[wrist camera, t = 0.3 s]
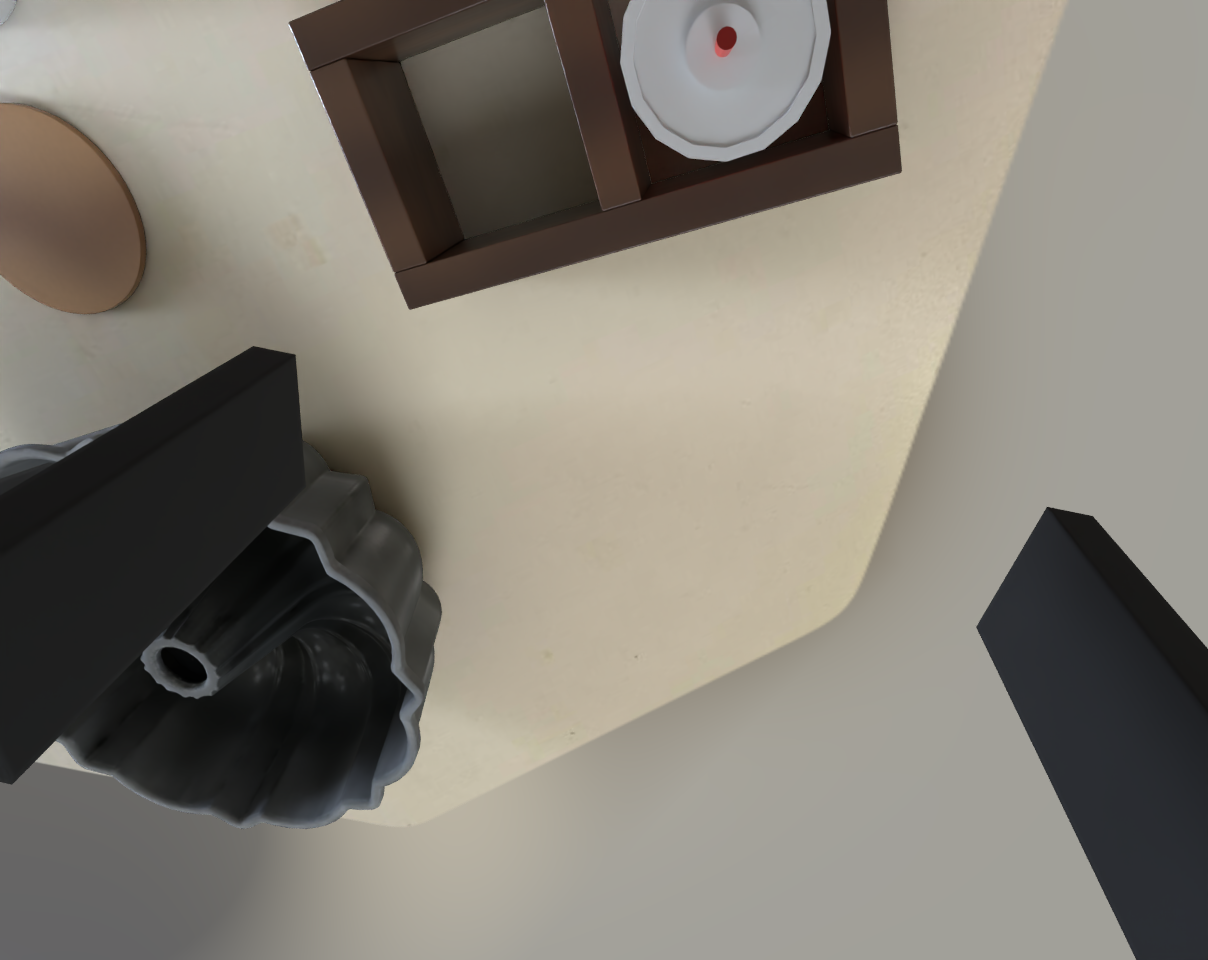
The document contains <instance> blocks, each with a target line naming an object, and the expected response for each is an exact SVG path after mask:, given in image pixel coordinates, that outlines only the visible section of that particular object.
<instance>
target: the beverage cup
mask: <svg viewBox="0 0 1208 960" xmlns="http://www.w3.org/2000/svg"><path fill="white" fill-rule="evenodd" d="M830 36H831V29H830V22H829V15H828V8H827V2H826V0H630V2H629V5H628V7H627V9H626V12H625V14H624V18H623V32H622V45H621V59H620V65H621V68H622V72H623V76H624V80H625V83H626V87H627V91H628V94H629V98H630V102H631V105H632V107H633V109H634V110H635V111H636V113H637V114H638V115H639V117H640V118H641V120H642V121H643V122H644V124H645V125H646V126H647V128H648V129H649V130H650V132H651V133H652V135H653V136H654V137H655V139H657V140H658V141H660V142H662V143H664V144H665V145H667V146H669V147H670V148H672V149H674V150H676V151H677V152H679V153H681V154H682V155H684V156H686V157H688V158H692V159H703V160H713V161H724V162H727V161H730V160H733V159H736V158H739V157H742V156H745V155H748V154H751V153H754V152H757V151H760V150H763V149H765V148H766V147H768V146H769V145H770V144H771V143H772V142H773V141H775V140H776V139H777V138H778V137H779V136H781V135H782V134H783V133H784V132H785V131H787V130H788V129H789V128H790V127H791V126H792V125H794V124H795V123H796V122H797V121H798V120H799V118H800V116H801V115H802V113H803V111H804V110H805V108H806V106H807V104H808V103H809V101H810V99H811V98H812V96H813V94H814V92H815V91H816V89H817V87H818V86H819V84H820V82H821V80H822V75H823V70H824V65H825V60H826V55H827V50H828V45H829V40H830Z"/></svg>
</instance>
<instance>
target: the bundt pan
mask: <svg viewBox="0 0 1208 960" xmlns="http://www.w3.org/2000/svg"><path fill="white" fill-rule="evenodd" d="M119 425H120V424H118V425H115V426H111V427H108V428H105V429H102V430H99V431H96V432H93V433H90V434H86V435H83V436H80V437H77V438H74V439H71V440H67V441H64V442H61V443H58V444H55V445H40V444H26V445H19V446H15V447H12V448H8V449H6V450H4V451H1V452H0V479H1V478H4V477H7V476H10V475H13V474H16V473H19V472H22V471H25V470H28V469H31V468H34V467H37V466H40V465H43V464H46V463H49V462H50V463H56V462H58V461H59V460H61V459H63V458H64V457H66V456H68V455H70V454H71V453H73V452H75V451H76V450H78V449H80V448H81V447H83V446H85V445H87V444H88V443H90V442H92V441H93V440H95V439H97V438H98V437H100V436H102V435H103V434H105V433H107V432H109V431H110V430H112V429H114V428H115V427H117V426H119ZM302 443H303V456H304V468H305V481H306V487H305V488H304V489H303V490H302V491H301V492H300V493H299V494H298V495H297V496H296V497H295V499H294V500H293V501H292V502H291V503H290V504H289V505H288V506H287V507H286V508H285V509H284V510H283V511H282V512H281V513H280V514H279V515H278V516H277V517H276V518H275V519H274V520H273V521H272V522H271V523H270V524H269V525H268V526H267V527H266V528H265V529H264V530H263V531H262V532H261V533H260V534H259V535H258V536H257V537H256V538H255V539H254V540H253V541H252V542H251V543H250V544H249V545H248V546H247V547H246V548H245V549H244V550H243V551H242V552H241V553H240V554H239V555H238V556H237V557H236V558H235V559H234V560H233V561H232V562H231V563H230V564H229V565H228V566H227V567H226V568H225V569H224V570H223V571H222V572H221V573H220V574H219V575H218V576H217V578H216V579H215V580H214V581H213V582H212V583H211V584H210V585H209V586H208V587H207V588H206V589H205V590H204V591H203V592H202V593H201V594H200V595H199V596H198V597H197V598H196V599H195V600H194V601H193V602H192V603H191V604H190V605H189V606H188V607H187V608H186V609H185V610H184V611H183V612H182V613H181V614H180V615H179V616H178V617H177V618H176V619H175V620H174V621H173V622H172V623H171V624H170V625H169V626H168V627H167V628H166V629H165V630H164V631H163V632H162V633H161V634H160V635H159V636H158V637H157V638H156V639H155V640H154V641H153V642H152V643H151V644H150V645H149V646H148V647H147V648H146V649H145V650H144V651H143V652H142V653H141V654H140V656H139V657H138V658H137V659H136V660H135V661H134V662H133V663H132V664H131V665H130V666H129V667H128V668H127V669H126V670H125V671H124V672H123V673H122V674H121V675H120V676H119V677H118V678H117V679H116V680H115V681H114V682H113V683H112V684H111V685H110V686H109V687H108V688H107V689H106V690H105V691H104V692H103V693H102V694H101V695H100V696H99V697H98V698H97V699H96V700H95V701H94V702H93V703H92V704H91V705H90V706H89V707H88V708H87V709H86V710H85V711H84V712H83V713H82V714H81V715H80V716H79V717H78V718H77V719H76V720H75V721H74V722H73V723H72V724H71V725H70V726H69V727H68V728H67V729H66V730H65V731H64V732H63V734H62V735H61V736H60V737H59V738H58V739H57V740H56V741H57V742H59V743H61V744H62V745H63V746H64V747H65V748H66V750H67V751H68V753H69V754H70V755H71V757H72V758H73V759H74V761H75V762H76V763H77V764H79V765H80V766H81V767H83V768H85V769H88V770H91V771H95V772H99V773H103V774H107V775H110V776H113V777H114V778H115V779H116V780H117V781H119V782H120V783H121V784H123V785H124V786H125V787H127V788H128V789H130V790H131V791H133V792H135V793H136V794H138V795H139V796H141V797H143V798H145V799H148V800H150V801H152V802H154V803H156V804H158V805H161V806H164V807H167V808H170V809H173V810H176V811H181V812H186V813H192V814H211V815H213V816H215V817H217V818H219V819H221V820H223V821H225V822H227V823H228V824H230V825H232V826H234V827H238V828H241V829H244V828H250V827H252V826H255V825H257V824H259V823H262V822H264V823H268V824H272V825H276V826H281V827H286V828H302V829H308V828H316V827H320V826H324V825H328V824H330V823H332V822H335V821H336V820H338V819H339V818H340V817H342V816H343V815H344V814H345V812H346V811H347V810H349V809H357V810H372V809H375V808H377V807H379V805H380V803H381V801H382V798H383V796H384V786H387V785H390V784H392V783H394V782H396V781H398V780H400V779H401V778H402V777H403V776H404V775H405V774H406V773H407V772H408V771H409V770H410V769H411V767H412V765H413V764H414V761H415V759H416V756H417V754H418V751H419V748H420V741H421V737H420V729H419V721H420V717H421V714H422V710H423V706H424V702H425V699H426V695H427V691H428V687H429V683H430V679H431V676H432V672H433V667H434V642H435V639H436V635H437V632H438V628H439V624H440V621H441V615H442V609H441V603H440V600H439V597H438V595H437V594H436V592H435V591H434V589H433V588H432V587H431V586H430V585H429V584H427V583H426V582H425V581H423V580H422V579H423V568H422V560H421V555H420V551H419V548H418V546H417V543H416V542H415V540H414V538H413V536H412V535H411V533H410V532H409V531H408V530H407V529H406V528H405V526H404V525H403V524H401V523H400V522H399V521H398V520H397V519H395V518H393V517H392V516H390V515H388V514H386V513H384V512H381V511H378V510H375V506H374V502H373V498H372V494H371V490H370V486H369V482H368V479H367V478H366V477H365V476H363V475H355V474H348V473H341V472H333V471H330V470H329V468H328V465H327V463H326V462H325V461H324V459H323V458H322V456H321V455H320V454H319V453H318V452H317V451H316V450H315V449H314V448H313V447H312V446H310V445H309V444H308V443H306V442H305V441H303V440H302Z"/></svg>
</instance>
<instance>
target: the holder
mask: <svg viewBox="0 0 1208 960" xmlns="http://www.w3.org/2000/svg"><path fill="white" fill-rule="evenodd" d="M826 2H827V8H828V15H829V22H830V29H831V36H830V40H829V45H828V50H827V55H826V60H825V65H824V70H823V75H822V82H823V90H824V98H825V106H826V113H827V121H828V129H829V130H828V131H825V132H821V133H818V134H815V135H811V136H808V137H805V138H801V139H798V140H795V141H792V142H788V143H785V144H782V145H778V146H775V147H772V148H768V149H765V150H762V151H758V152H755V153H752V154H748V155H745V156H742V157H739V158H736V159H733V160H730V161H727V162H722V163H718V164H715V165H712V166H708V167H705V168H702V169H698V170H695V171H692V172H689V173H685V174H682V175H679V176H675V177H672V178H669V179H665V180H662V181H659V182H655V183H652V184H651V178H650V174H649V170H648V166H647V162H646V157H645V153H644V149H643V145H642V141H641V137H640V133H639V128H638V124H637V120H636V116H635V112H634V109H633V107H632V105H631V102H630V98H629V94H628V91H627V87H626V83H625V80H624V76H623V72H622V68H621V65H620V59H621V54H620V50H619V45H618V41H617V37H616V33H615V29H614V25H613V21H612V16H611V12H610V8H609V4H608V0H340V1H338V2H336V3H333V4H331V5H328V6H326V7H324V8H321V9H319V10H317V11H314V12H312V13H309V14H307V15H305V16H302V17H300V18H297V19H295V20H293V21H290V22H289V26H290V29H291V31H292V33H293V36H294V38H295V40H296V43H297V45H298V48H299V50H300V52H301V55H302V57H303V59H304V62H305V64H306V67H307V69H308V70H309V71H311V72H310V75H311V78H312V80H313V83H314V85H315V87H316V90H317V92H318V94H319V97H320V99H321V101H322V104H323V106H324V109H325V111H326V113H327V116H328V118H329V120H330V123H331V125H332V127H333V130H334V132H335V135H336V137H337V139H338V142H339V144H340V146H341V149H342V151H343V154H344V156H345V158H346V161H347V163H348V165H349V168H350V170H351V172H352V175H353V177H354V180H355V182H356V184H357V187H358V189H359V191H360V194H361V196H362V198H363V201H364V203H365V206H366V208H367V210H368V213H369V215H370V217H371V220H372V222H373V225H374V227H375V229H376V232H377V234H378V236H379V239H380V241H381V243H382V246H383V248H384V251H385V253H386V255H387V258H388V260H389V262H390V265H391V267H392V269H393V271H394V272H396V273H395V274H394V275H395V277H396V280H397V282H398V284H399V287H400V289H401V292H402V294H403V296H404V299H405V301H406V303H407V306H408V308H409V309H410V310H411V309H415V308H418V307H422V306H425V305H429V304H433V303H436V302H440V301H443V300H447V299H450V298H454V297H458V296H461V295H465V294H468V293H472V292H476V291H479V290H483V289H486V288H490V287H493V286H497V285H501V284H504V283H508V282H511V281H515V280H519V279H522V278H526V277H529V276H533V275H536V274H540V273H544V272H547V271H551V270H554V269H558V268H562V267H565V266H569V265H572V264H576V263H579V262H583V261H587V260H590V259H594V258H597V257H601V256H604V255H608V254H612V253H615V252H619V251H622V250H626V249H630V248H633V247H637V246H640V245H644V244H647V243H651V242H655V241H658V240H662V239H665V238H669V237H673V236H676V235H680V234H683V233H687V232H690V231H694V230H698V229H701V228H705V227H708V226H712V225H716V224H719V223H723V222H726V221H730V220H733V219H737V218H741V217H744V216H748V215H751V214H755V213H759V212H762V211H766V210H769V209H773V208H776V207H780V206H784V205H787V204H791V203H794V202H798V201H802V200H805V199H809V198H812V197H816V196H819V195H823V194H827V193H830V192H834V191H837V190H841V189H845V188H848V187H852V186H855V185H859V184H862V183H866V182H870V181H873V180H877V179H880V178H884V177H887V176H891V175H895V174H898V173H901V171H902V167H901V155H900V144H899V132H898V125H896V124H897V122H898V121H897V110H896V98H895V87H894V75H893V64H892V52H891V41H890V29H889V18H888V6H887V0H826ZM542 6H546V10H547V13H548V17H549V21H550V24H551V28H552V31H553V35H554V39H555V42H556V46H557V49H558V53H559V57H560V60H561V64H562V68H563V71H564V75H565V78H566V82H567V86H568V89H569V93H570V97H571V100H572V104H573V107H574V111H575V115H576V118H577V122H578V126H579V129H580V133H581V136H582V140H583V144H584V147H585V151H586V154H587V158H588V162H589V165H590V169H591V173H592V176H593V180H594V183H595V187H596V191H597V194H598V198H599V200H596V201H592V202H589V203H586V204H582V205H579V206H576V207H572V208H569V209H566V210H562V211H559V212H556V213H552V214H549V215H546V216H542V217H539V218H536V219H532V220H529V221H526V222H522V223H519V224H516V225H512V226H509V227H506V228H503V229H499V230H496V231H493V232H489V233H486V234H483V235H479V236H476V237H473V238H469V239H466V240H464V236H463V234H462V231H461V228H460V226H459V223H458V220H457V217H456V215H455V212H454V209H453V207H452V204H451V201H450V198H449V196H448V193H447V190H446V188H445V185H444V182H443V179H442V177H441V174H440V171H439V169H438V166H437V163H436V160H435V158H434V155H433V152H432V150H431V147H430V144H429V141H428V139H427V136H426V133H425V131H424V128H423V125H422V123H421V120H420V117H419V114H418V112H417V109H416V106H415V104H414V101H413V98H412V95H411V93H410V90H409V87H408V85H407V82H406V79H405V76H404V74H403V71H402V68H401V66H400V63H399V61H401V60H404V59H407V58H409V57H412V56H414V55H417V54H420V53H422V52H425V51H427V50H430V49H433V48H435V47H438V46H441V45H443V44H446V43H448V42H451V41H454V40H456V39H459V38H461V37H464V36H467V35H469V34H472V33H475V32H477V31H480V30H482V29H485V28H488V27H490V26H493V25H495V24H498V23H501V22H503V21H506V20H508V19H511V18H514V17H516V16H519V15H522V14H524V13H527V12H529V11H532V10H535V9H537V8H540V7H542Z"/></svg>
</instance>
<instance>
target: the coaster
mask: <svg viewBox="0 0 1208 960" xmlns="http://www.w3.org/2000/svg"><path fill="white" fill-rule="evenodd" d="M145 261H146V240H145V234H144V228H143V225H142V221H141V217H140V214H139V211H138V209H137V206H136V204H135V201H134V199H133V197H132V195H131V193H130V191H129V189H128V187H127V186H126V184H125V182H124V181H123V179H122V178H121V176H120V174H119V173H118V171H117V170H116V169H115V167H114V166H113V165H112V163H111V162H110V161H109V160H108V158H107V157H106V156H105V155H104V154H103V153H102V152H101V151H100V150H99V148H98V147H97V146H96V145H94V144H93V143H92V142H91V141H90V140H89V139H88V138H87V137H86V136H85V135H83V134H82V133H81V132H79V131H78V130H77V129H75V128H74V127H73V126H71V125H70V124H68V123H67V122H65V121H63V120H62V119H60V118H58V117H56V116H54V115H52V114H50V113H48V112H46V111H43V110H40V109H38V108H35V107H32V106H27V105H22V104H15V103H0V275H1V276H2V277H4V278H5V279H6V280H7V281H8V282H10V283H11V284H12V285H13V286H14V287H16V288H17V289H19V290H20V291H22V292H23V293H24V294H26V295H28V296H29V297H31V298H33V299H35V300H36V301H38V302H40V303H43V304H45V305H47V306H49V307H52V308H55V309H58V310H61V311H65V312H70V313H77V314H94V313H99V312H104V311H107V310H109V309H112V308H114V307H117V306H119V305H120V304H122V303H123V302H125V301H126V300H127V299H128V298H129V297H130V296H131V295H132V294H133V293H134V291H135V290H136V288H137V287H138V285H139V283H140V280H141V278H142V276H143V272H144V268H145Z"/></svg>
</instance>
